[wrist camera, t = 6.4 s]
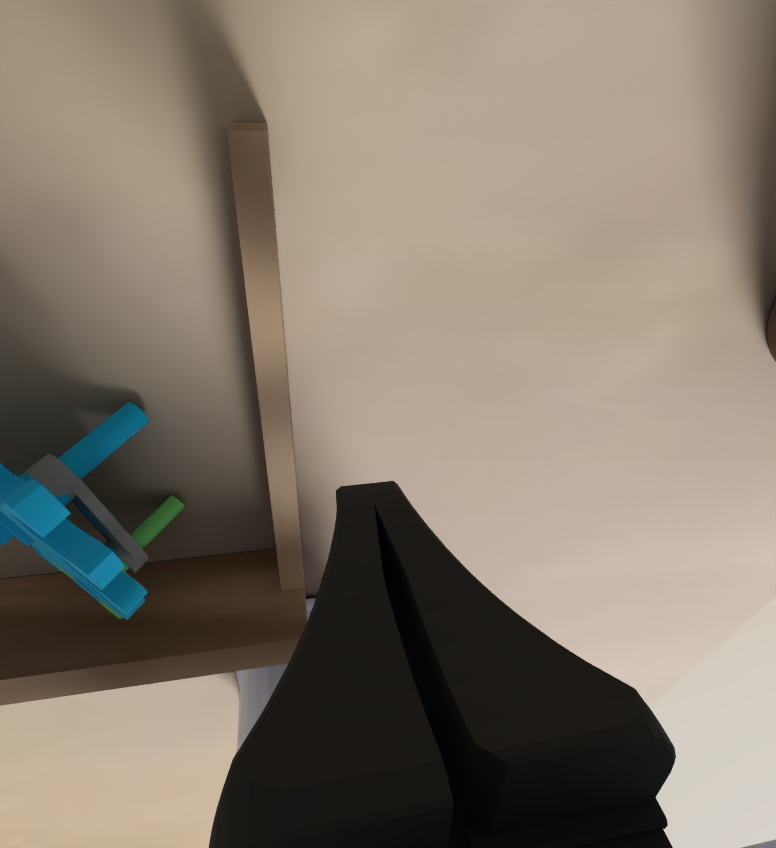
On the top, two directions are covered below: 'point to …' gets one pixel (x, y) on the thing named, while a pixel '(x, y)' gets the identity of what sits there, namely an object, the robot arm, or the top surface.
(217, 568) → the wooden u-shaped frame
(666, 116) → the top surface
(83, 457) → the gear
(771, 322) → the plant pot
